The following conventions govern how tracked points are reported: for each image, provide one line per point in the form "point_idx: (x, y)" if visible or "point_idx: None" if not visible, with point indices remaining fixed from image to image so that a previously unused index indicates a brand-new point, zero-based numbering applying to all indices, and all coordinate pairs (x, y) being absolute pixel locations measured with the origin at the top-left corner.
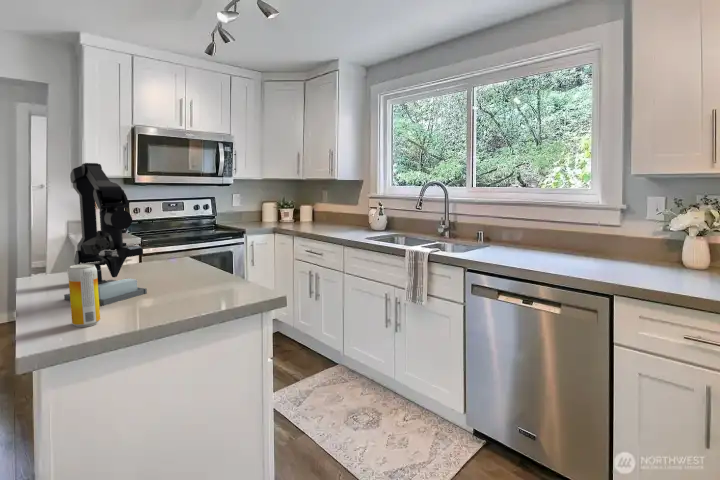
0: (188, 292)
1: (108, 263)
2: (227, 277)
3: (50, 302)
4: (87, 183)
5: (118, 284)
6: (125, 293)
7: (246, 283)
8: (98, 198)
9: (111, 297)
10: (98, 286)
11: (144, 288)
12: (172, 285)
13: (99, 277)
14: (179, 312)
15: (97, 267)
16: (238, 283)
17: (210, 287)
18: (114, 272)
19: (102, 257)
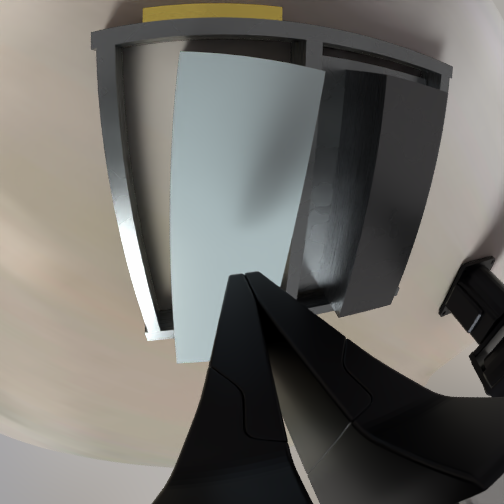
0: (41, 380)
1: (338, 395)
2: (144, 462)
3: (444, 15)
4: None
5: (171, 242)
6: (132, 227)
7: (52, 448)
8: None
9: (110, 108)
10: (236, 75)
11: (158, 337)
12: (186, 404)
13: (457, 308)
14: None
15: (482, 332)
16: (63, 446)
17: (64, 421)
18: (219, 316)
19: (479, 451)
